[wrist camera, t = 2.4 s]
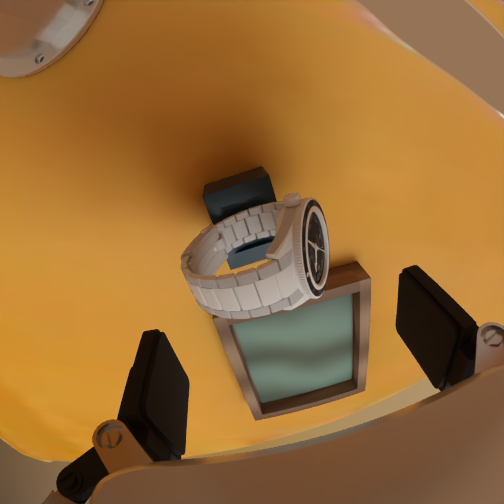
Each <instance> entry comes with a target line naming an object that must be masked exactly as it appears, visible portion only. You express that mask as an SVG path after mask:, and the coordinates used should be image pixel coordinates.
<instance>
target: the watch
mask: <svg viewBox="0 0 504 504" xmlns="http://www.w3.org/2000/svg"><path fill="white" fill-rule="evenodd" d="M203 199H204V202H205V204H206V207H207V210H208V212H209V215H210V218H211V220H212V223H213V225H212V224H211V225H209V226H208V227H207V228H206V229H203V230H202V231H201V232H200V234H199V235H198V236H197V237H196V238H195V239H194V240H193V241H192V242H191V243H190V244H189V246H188V247H187V248H186V250H185V251H184V252H183V254H182V256H181V261H182V262H181V263H182V264H181V270H182V272H183V274H184V276H185V279H186V281H187V283H188V285H189V287H190V289H191V291H192V293H193V295H194V297H195V299H196V301H197V303H198V304H199V306H200V307H201V308H202V309H204V310H205V311H207V312H209V313H211V314H213V315H216V316H219V317H223V318H229V319H231V318H233V319H247V318H251V317H252V318H253V317H259V316H264V315H268V314H270V313H271V312H272V313H273V312H277V311H280V310H282V309H283V310H292V309H294V308H296V307H298V306H299V305H301V304H303V303H304V302H306V301H307V300H308V299H310V298H312V299H317V298H319V297H321V295H322V294H323V292H324V289H325V287H326V283H327V279H328V273H329V257H330V255H329V238H328V231H327V225H326V221H325V217H324V214H323V211H322V209H321V207H320V205H319V203H318V202H317V200H316V199H314V198H305V199H300V195H299V193H290V194H287V195H285V196H284V197H283V200H284V201H279V202H277V201H276V197H275V194H274V191H273V187H272V184H271V180H270V177H269V174H268V173H267V172H266V171H265V170H264V168H263V167H259V168H256V169H252V170H249V171H246V172H243V173H240V174H237V175H234V176H231V177H228V178H225V179H222V180H219V181H216V182H213V183H210V184H207V185H205V186H204V192H203ZM266 258H267V259H268V260H269V259H272V260H271V261H269V262H267V263H264V264H262V265H260V266H258V267H257V271H256V269H255V268H251V269H248V270H245V271H241V272H238V273H237V274H236V276H235V274H234V273H232V274H227V275H220V276H218V277H216V276H215V275H214V274H215V272H216V271H217V270H218V268H219V267H220V266H221V265H222V264H223V263H224V261H225V260H226V259H227V262H228V264H229V267H230V269H231V270H232V269H235V268H238V267H241V266H244V265H248V264H251V263H254V262H257V261H260V260H263V259H266ZM257 272H258V274H257ZM213 275H214V276H213ZM258 275H259V277H258ZM254 283H255V284H254ZM255 286H256V287H255ZM256 289H257V290H256ZM257 292H258V293H257ZM258 295H259V296H258ZM259 297H260V298H259ZM260 300H261V301H260ZM268 305H269V306H268ZM269 307H270V309H269ZM270 310H271V312H270Z"/></svg>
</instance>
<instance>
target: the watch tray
mask: <svg viewBox="0 0 504 504" xmlns="http://www.w3.org/2000/svg"><path fill="white" fill-rule="evenodd" d="M256 290H257V289H256ZM257 293H258V292H257ZM258 296H259V295H258ZM259 298H260V297H259ZM260 301H261V300H260ZM268 306H269V305H268ZM370 308H371V277H370V276H369V275H368V274H367V273H366V271H365V270H364V269H363V268H362V267H361V265H360V264H359V263H358V262H355V263H351V264H348V265H344V266H340V267H337V268H333V269H329V273H328V279H327V283H326V287H325V289H324V292H323V294H322V295H321V297H319V298H317V299H312V298H310V299H308V300H307V301H306V302H304V303H303V304H301V305H299V306H298V307H296V308H294V309H292V310H283V309H282V310H280V311H277V312H273V313H272V312H271V310H270V312H271V313H270V314H268V315H264V316H259V317H253V318H252V317H251V318H247V319H233V318H231V319H229V318H223V317H219V316H216V315H213V321H214V323H215V326H216V328H217V331H218V334H219V336H220V339H221V341H222V344H223V346H224V349H225V351H226V354H227V356H228V358H229V361H230V363H231V366H232V368H233V371H234V373H235V375H236V378H237V380H238V382H239V385H240V387H241V389H242V392H243V394H244V396H245V399H246V401H247V403H248V405H249V408H250V410H251V412H252V414H253V417H254V419H255V421H256V420H261V419H266V418H271V417H275V416H280V415H284V414H288V413H292V412H296V411H300V410H304V409H308V408H312V407H315V406H319V405H322V404H326V403H329V402H332V401H335V400H339V399H342V398H345V397H348V396H351V395H354V394H357V393H360V392H363V391H365V385H366V375H367V364H368V350H369V334H370ZM269 309H270V307H269Z"/></svg>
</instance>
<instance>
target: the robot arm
mask: <svg viewBox="0 0 504 504" xmlns="http://www.w3.org/2000/svg"><path fill="white" fill-rule="evenodd" d="M103 1H104V0H0V76H3V77H7V78H20V77H27V76H30V75H33V74H36V73H38V72H40V71H42V70H44V69H45V68H47V67H49V66H51V65H52V64H53V63H55V62H56V61H57V60H59V59H60V58H62V57H63V56H64V55H65V54H66V53H67V52H68V51H69V50H70V49H71V48H72V47H73V46H74V45H75V44H76V43H77V42H78V41H79V39H80V38H81V37H82V36H83V35H84V34H85V32H86V31H87V29H88V28H89V27H90V25H91V24H92V23H93V21H94V19H95V17H96V16H97V14H98V12H99V10H100V8H101V6H102V3H103ZM92 3H93V4H92ZM396 330H397V332H398V334H399V335H400V337H401V338H402V340H403V341H404V343H405V344H406V345H407V347H408V348H409V350H410V351H411V353H412V354H413V356H414V357H415V359H416V360H417V362H418V363H419V365H420V366H421V368H422V369H423V371H424V372H425V374H426V375H427V377H428V378H429V380H430V381H431V383H432V385H433V386H434V387H435V388H437V389H438V388H439V390H440V391H441V392H439V393H437V394H435V395H432V396H430V397H428V398H426V399H424V400H422V401H419V402H417V403H415V404H412V405H410V406H408V407H405V408H403V409H400V410H398V411H396V412H393V413H390V414H388V415H385V416H383V417H380V418H377V419H375V420H372V421H369V422H366V423H363V424H360V425H357V426H354V427H351V428H348V429H345V430H342V431H338V432H335V433H331V434H328V435H325V436H320V437H317V438H313V439H309V440H305V441H301V442H297V443H293V444H288V445H284V446H279V447H274V448H269V449H263V450H257V451H252V452H245V453H238V454H231V455H223V456H215V457H205V458H196V459H183V460H181V455H184V454H185V447H186V428H187V413H188V398H189V379H188V376H187V375H186V373H185V371H184V369H183V367H182V365H181V364H180V362H179V360H178V358H177V356H176V354H175V352H174V350H173V348H172V347H171V345H170V343H169V341H168V339H167V337H166V335H165V333H164V332H160V331H159V330H158V329H155V330H149V331H144V332H143V334H142V337H141V341H140V344H139V347H138V351H137V354H136V357H135V361H134V364H133V367H131V369H130V372H129V376H128V379H127V383H126V386H125V390H124V394H123V398H122V401H121V405H120V409H119V413H118V417H117V420H114V419H112V420H107V421H105V422H103V423H101V424H100V425H99V426H98V427H97V428H96V430H95V431H94V434H93V437H92V442H93V445H94V447H92V448H91V449H90V450H88V451H87V452H86V453H84V454H83V455H82V456H80V457H79V458H78V459H76V460H75V461H74V462H72V463H71V464H70V465H68V466H67V467H65V468H64V469H63V470H62V471H61V472H60V473H59V475H58V477H57V481H56V484H57V489H58V490H57V491H56V492H55V491H53V490H52V492H51V493H50V494H49V496H48V497H47V498H46V500H45V501H44V502H43V503H42V504H504V326H502V325H500V324H498V323H494V322H489V323H485V324H483V325H482V326H480V328H479V327H478V326H477V325H476V322H475V321H474V319H473V318H472V317H471V316H470V315H469V314H468V313H467V312H466V311H465V310H464V309H463V308H462V307H461V306H460V305H459V304H458V303H457V302H456V301H455V300H454V299H453V298H452V297H451V296H450V295H449V294H447V293H446V292H445V291H444V290H443V289H442V288H441V287H440V286H439V285H438V284H437V283H436V282H435V281H434V280H433V279H432V278H431V277H429V276H428V275H427V274H426V273H425V272H424V271H423V270H422V269H421V268H420V267H418V266H417V265H413V266H410V267H407V268H404V269H403V270H402V273H400V275H399V286H398V303H397V315H396Z"/></svg>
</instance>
